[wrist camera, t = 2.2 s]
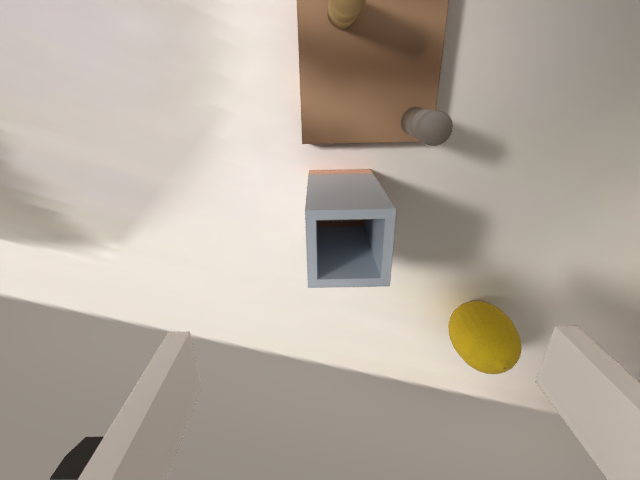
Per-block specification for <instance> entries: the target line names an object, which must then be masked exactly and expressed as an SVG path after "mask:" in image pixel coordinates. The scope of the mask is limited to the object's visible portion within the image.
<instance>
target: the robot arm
mask: <svg viewBox="0 0 640 480" xmlns="http://www.w3.org/2000/svg"><path fill="white" fill-rule="evenodd" d="M536 383H537V384H538V386H539V387H540V389H541V390H542V391H543V393H544V394H545V395H546V397H547V398H548V399H549V401H550V402H551V403H552V405H553V406H554V407H555V409H556V410H557V411H558V413H559V414H560V416H561V417H562V418H563V420H564V421H565V422H566V423H567V425H568V426H569V428H570V429H571V430H572V432H573V433H574V434H575V436H576V437H577V438H578V440H579V441H580V442H581V444H582V445H583V447H584V448H585V449H586V450H587V452H588V453H589V455H590V456H591V457H592V459H593V460H594V461H595V462H596V464H597V465H598V467H599V468H600V469H601V471H602V472H603V474H604V475H605V476H606V478H607V479H608V480H640V383H639V382H638V381H637V380H636V379H635V378H633V377H632V376H631V375H630V374H629V373H628V372H627V371H626V370H625V369H624V368H623V367H621V366H620V365H619V364H618V363H617V362H616V361H615V360H614V359H613V358H612V357H611V356H609V355H608V354H607V353H606V352H605V351H604V350H603V349H602V348H601V347H600V346H599V345H597V344H596V343H595V342H594V341H593V340H592V339H591V338H590V337H589V336H588V335H587V334H585V333H584V332H583V331H582V330H581V329H580V328H579V327H578V326H577V325H566V326H555V328H554V330H553V333H552V336H551V339H550V342H549V345H548V348H547V350H546V353H545V356H544V359H543V362H542V365H541V367H540V370H539V373H538V376H537V379H536ZM201 389H202V384H201V380H200V375H199V371H198V366H197V362H196V358H195V353H194V349H193V344H192V340H191V335H190V332H168V333H167V335H166V337H165V338H164V340H163V342H162V343H161V345H160V347H159V348H158V350H157V351H156V353H155V355H154V356H153V358H152V360H151V361H150V363H149V364H148V366H147V368H146V369H145V371H144V372H143V374H142V376H141V377H140V379H139V381H138V382H137V384H136V385H135V387H134V389H133V390H132V392H131V394H130V395H129V397H128V399H127V400H126V402H125V403H124V405H123V407H122V408H121V410H120V412H119V413H118V415H117V417H116V418H115V420H114V422H113V423H112V425H111V426H110V428H109V430H108V431H107V433H106V435H105V436H104V437H85V438H84V439H83V440H82V441H81V442H80V443H79V444H78V445H77V446H76V447H75V448H74V449H72V450H71V451H70V452H69V453H68V454H67V455H66V456H65V457H64V459H63V460H62V462H61V463H60V465H59V466H58V468H57V469H56V471H55V472H54V473H53V475H52V476H51V478H50V480H166V479H167V477H168V474H169V472H170V469H171V467H172V464H173V461H174V459H175V456H176V453H177V451H178V448H179V446H180V443H181V441H182V438H183V435H184V433H185V430H186V428H187V425H188V423H189V420H190V417H191V415H192V412H193V409H194V407H195V405H196V402H197V399H198V397H199V394H200V392H201Z"/></svg>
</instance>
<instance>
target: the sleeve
mask: <svg viewBox="0 0 640 480" xmlns="http://www.w3.org/2000/svg"><path fill="white" fill-rule="evenodd" d="M349 219H362V220H349ZM395 219H396V207H395V206H394V204H393V203H392V201H391V200H390V198H389V197H388V195H387V194H386V192H385V191H384V189H383V188H382V186H381V184H380V183H379V181H378V180H377V178H376V177H375V175H374V174H373V172H372V171H371V169H355V170H309V175H308V186H307V196H306V207H305V220H306V246H307V272H308V288H323V287H375V286H390V279H391V267H392V255H393V243H394V231H395ZM317 220H342V221H317Z"/></svg>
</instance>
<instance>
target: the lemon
mask: <svg viewBox="0 0 640 480" xmlns="http://www.w3.org/2000/svg"><path fill="white" fill-rule="evenodd" d="M449 336H450V339H451V341H452V344H453V346H454V348H455V350H456V351H457V353H458V354H459V355H460V356H461V357H462V358H463V360H464V361H465V362H466V363H467V364H468V365H470V366H471V367H473V368H474V369H476V370H478V371H480V372H483V373H487V374H499V373H503V372H506V371H508V370H509V369H511V368H512V367H513V366H514V365H515V364H516V363H517V361H518V359H519V357H520V354H521V341H520V337H519V335H518V332H517V330H516V328H515V327H514V325H513V323H512V321H511V320H510V319H509V318H508V317H507V316H506V315H505V314H504V313H503V312H502V311H501V310H500V309H499V308H497V307H495V306H493V305H491V304H489V303H486V302H481V301H471V302H467V303H464V304H462V305H460V306H459V307H458V308H457V309H456V310H455V311H454V312H453V314H452V315H451V317H450V321H449Z"/></svg>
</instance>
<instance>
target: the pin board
mask: <svg viewBox="0 0 640 480" xmlns="http://www.w3.org/2000/svg"><path fill="white" fill-rule="evenodd" d="M448 3H449V0H297V17H298V43H299V69H300V95H301V121H302V144H328V143H380V142H424V143H426V144H428V145H432V146H436V145H440V144H442V143H443V142H445V141H446V140H447V139H448V138H449V136H450V134H451V132H452V127H453V126H452V120H451V118H450V117H449V116H448V115H447V114H446V113H444V112H439V111H436V103H437V94H438V86H439V78H440V70H441V61H442V53H443V45H444V37H445V28H446V20H447V12H448Z"/></svg>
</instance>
